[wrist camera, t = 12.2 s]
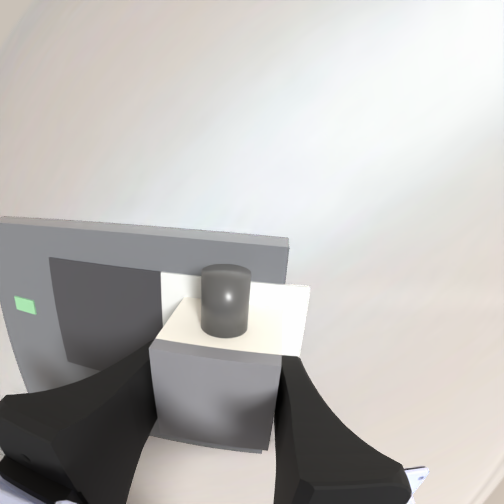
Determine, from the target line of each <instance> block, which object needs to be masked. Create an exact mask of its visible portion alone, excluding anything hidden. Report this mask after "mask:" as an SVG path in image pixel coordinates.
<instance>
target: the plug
mask: <svg viewBox="0 0 504 504" xmlns="http://www.w3.org/2000/svg"><path fill="white" fill-rule="evenodd" d="M250 285H251V271H250V270H249V269H247V268H245V267H242V266H239V265H233V264H214V265H209V266H206V267H204V268H203V269H202V271H201V299H199V298H191V297H184V298H183V300H182V301H181V302H180V304H179V305H178V307H177V308H176V309H175V311H174V312H173V314H172V315H171V317H170V318H169V319H168V321H167V322H166V324H165V325H164V327H163V328H162V329H161V331H160V332H159V334H158V335H157V337H156V338H155V340H154V341H153V342H152V344H151V345H150V347H149V356H150V365H151V374H152V382H153V389H154V397H155V404H156V410H157V417H158V423H159V429H160V434H164V435H169V436H174V437H178V438H183V439H188V440H194V441H199V442H205V443H211V444H218V445H224V446H232V447H239V448H248V449H257V450H268V447H269V441H270V435H271V429H272V423H273V417H274V411H275V405H276V398H277V392H278V386H279V379H280V372H281V362H282V327H283V307H273V306H262V305H252V304H249V299H250Z"/></svg>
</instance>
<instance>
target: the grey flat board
mask: <svg viewBox="0 0 504 504" xmlns="http://www.w3.org/2000/svg"><path fill="white" fill-rule="evenodd" d="M288 254H289V239H288V238H284V237H274V236H263V235H252V234H241V233H229V232H218V231H206V230H194V229H182V228H169V227H156V226H143V225H130V224H117V223H103V222H88V221H73V220H58V219H42V218H26V217H8V216H4V217H1V218H0V304H1V308H2V312H3V316H4V320H5V324H6V328H7V331H8V335H9V338H10V342H11V345H12V348H13V352H14V355H15V358H16V361H17V364H18V367H19V370H20V373H21V375H22V378H23V381H24V384H25V386H26V389H27V391H28V393H34V392H40V391H45V390H50V389H54V388H58V387H61V386H65V385H68V384H71V383H74V382H77V381H80V380H82V379H85V378H87V377H90V376H92V375H94V374H96V373H98V372H100V371H102V370H104V369H106V368H108V367H110V366H111V365H113V364H115V363H117V362H119V361H120V360H122V359H124V358H125V357H127V356H128V355H130V354H132V353H133V352H135V351H136V350H138V349H139V348H141V347H142V346H144V345H145V344H147V343H148V342H150V341H152V340H153V339H155V338H156V337H157V335H158V334H159V332H160V331H161V329H162V328H163V327H164V325H165V324H166V322H167V321H168V319H169V318H170V317H171V315H172V314H173V312H174V311H175V309H176V308H177V307H178V305H179V304H180V302H181V301H182V300H183V298H184V297H191V298H199V299H201V271H202V269H203V268H204V267H206V266H209V265H214V264H233V265H239V266H242V267H245V268H247V269H249V270H250V271H251V285H250V299H249V304H252V305H262V306H273V307H283V327H282V355H288V356H298V357H300V351H301V345H302V340H303V334H304V328H305V321H306V315H307V309H308V302H309V296H310V289H311V287H310V286H307V285H296V284H285V281H286V272H287V263H288ZM149 435H150V436H155V437H159V438H163V439H168V440H173V441H177V442H183V443H188V444H193V445H199V446H205V447H211V448H218V449H225V450H232V451H240V452H249V453H259V454H262V450H257V449H248V448H239V447H232V446H224V445H218V444H211V443H205V442H199V441H194V440H188V439H183V438H178V437H174V436H169V435H164V434H160V429H159V423H158V418H157V420H156V422H155V424H154V426H153V428H152V430H151V432H150V434H149Z"/></svg>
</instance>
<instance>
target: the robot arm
mask: <svg viewBox="0 0 504 504" xmlns="http://www.w3.org/2000/svg"><path fill="white" fill-rule="evenodd" d="M154 340H155V339H153V340H152V341H150V342H148V343H147V344H145V345H144V346H142V347H141V348H139V349H138V350H136V351H135V352H133V353H132V354H130V355H128V356H127V357H125V358H124V359H122V360H120V361H119V362H117V363H115V364H113V365H111V366H110V367H108V368H106V369H104V370H102V371H100V372H98V373H96V374H94V375H92V376H90V377H87V378H85V379H82V380H80V381H77V382H74V383H71V384H68V385H65V386H61V387H58V388H54V389H50V390H45V391H40V392H34V393H26V394H15V395H6V396H5V397H4V398H3V399H2V400H1V401H0V448H1V449H2V451H3V452H4V454H5V456H4V457H3V458H2V460H1V461H0V504H126V501H127V497H128V494H129V490H130V486H131V483H132V479H133V476H134V473H135V470H136V467H137V464H138V461H139V458H140V455H141V452H142V449H143V447H144V445H145V442H146V440H147V438H148V436H149V434H150V432H151V430H152V428H153V426H154V424H155V422H156V420H157V418H158V417H157V410H156V404H155V397H154V389H153V382H152V374H151V365H150V356H149V347H150V345H151V344H152V342H153V341H154ZM274 426H275V448H276V480H275V493H274V504H415V501H414V498H413V493H414V492H415V491H416V489H417V488H418V487H419V486H420V484H421V483H422V482H423V480H424V479H425V478H426V476H427V475H428V474H429V469H428V468H419V469H412V470H404V468H403V466H402V464H400V463H398V462H396V461H394V460H393V459H391V458H389V457H387V456H385V455H383V454H382V453H380V452H378V451H377V450H375V449H374V448H372V447H371V446H370V445H368V444H367V443H365V442H364V441H363V440H361V439H360V438H359V437H358V436H357V435H355V434H354V433H353V432H352V431H351V430H350V429H348V428H347V427H346V426H345V425H344V424H343V423H342V422H341V421H340V419H339V418H338V417H337V416H336V415H335V414H334V413H333V412H332V410H331V409H330V408H329V407H328V405H327V404H326V403H325V401H324V400H323V398H322V397H321V396H320V394H319V393H318V391H317V389H316V388H315V386H314V385H313V383H312V381H311V380H310V378H309V376H308V374H307V372H306V370H305V368H304V366H303V364H302V362H301V359H300V358H299V357H298V356H288V355H282V362H281V372H280V379H279V386H278V392H277V398H276V405H275V411H274Z"/></svg>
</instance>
